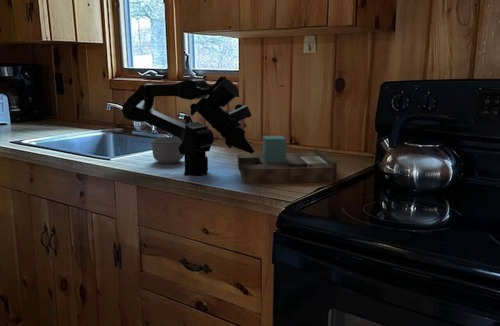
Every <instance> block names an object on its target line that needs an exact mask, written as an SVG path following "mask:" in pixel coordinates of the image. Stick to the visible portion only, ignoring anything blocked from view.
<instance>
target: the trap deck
mask: <svg viewBox="0 0 500 326" xmlns="http://www.w3.org/2000/svg"><path fill="white" fill-rule="evenodd" d="M313 150H314V152H289V153H287V152H286V162H285V163H265V161H264V160H263V153H252V154H251V153H237V169H238V171H239V174H240V176H241V179H242V182H243V184H244V185H245V184H247V185H248V184H251V185H252V184H285V183H286V184H287V183H289V184H290V183H291V184H292V183H293V184H294V183H324V182H325V183H326V182H327V183H328V182H337V169H338V162H337V161H336V160H335V159H333V158H332V157H331V156H329V155H328V154H326V153H325V152H323V151H322V150H321V149H320V148H318V147H315V148H314V149H313Z"/></svg>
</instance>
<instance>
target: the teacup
mask: <svg viewBox="0 0 500 326" xmlns="http://www.w3.org/2000/svg"><path fill="white" fill-rule="evenodd" d="M150 143H151V150H152V156H153V159H154V160H155V161H157V162H158V163H159V164H161V163H162V165H171V164H177V163H179V162H180V161H181V160H182V159H184V155H183V154H180V152H179V148H178V147H179V146H180V145H181V144H182V141H181V139H180V138H179V137H176V136H161V137H157V138H154V139H151V141H150Z"/></svg>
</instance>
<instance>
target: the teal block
mask: <svg viewBox="0 0 500 326" xmlns="http://www.w3.org/2000/svg"><path fill="white" fill-rule="evenodd" d="M286 153H287V138H286V137H284V136H283V135H262V154H263V160H264V161H265V163H285V162H286Z"/></svg>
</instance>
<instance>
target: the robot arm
mask: <svg viewBox="0 0 500 326" xmlns="http://www.w3.org/2000/svg"><path fill="white" fill-rule="evenodd" d="M239 92H240V91H239V88H238V87H237V85H236V84H235V83H234V82H233V81H231V80H229V79H227V77H226V76H220V77H219V78H217V80H216V81H215V82H214V84H208V82H207V81H206V80H205V79H202V78H201V79H200V78H199V79H195V78H194V79H186V80H182V81H180V82H177V83H176V82H175V83H161V84H160V83H158V84H157V83H156V84H154V83H143V84H141V85H139V87H138V88H137V90H135V92H134V93H133V94H131V95H130V96H129V97H128V98H127V99H126V101H125V102H124V103H123V105H122V107H121V108H122V109H121V112H122V114H123V118H124V119H125V120H128V121H133V122H140V123H147V124H149V125H151V126H152V127H154V128H157V129H160V130H162V131H163V132H165V133H168V134H170V135H172V136H173V137H179V138H180V139H181V141H182V144H181V145H180V146H179V147H178V148H179V152H180V154H183V155H184V157H183V159H184V174H183V175H185V176H195V175H196V176H200V175H201V176H204V175H205V176H206V175H207V172H208V171H209V163H208V162H209V157H208V155H207V152H210V151H211V148H212V145H213V143H214V141H215V139H214V133H213V131H212V129H214V130H216V131H217V133H218V134H220V135H221V136H220V137H222V139H224V144H225V145H226V146H227V147H228V148H229V149H230V148H232V147H233V148H236V149H239V150H241V151H244V152H246V153H247V154H254V153H255V150H254V148H253V147H252V146H251V144H250V143H249V141H248V140H247V138H246V137H245V135H246V130H245V129H244V127H241V126H242V123H240V121H243V120H245V119H246V118H250V117H252V112H251V110H250V108H249V106H248V105H247V104H244V105H242V104H240V103H237V104H236V105H234V109H232V111H230V112H228V110H226V109H223V108H225V107H226V106H227V105H229V103H230V102H232V101H233V100H234V99H235V98H236V97H237V96H238V95H239ZM155 97H177V98H180V99H184V100H189V101H193V100H194V101H195V100H198V101H197V102H196V103H192V104H191V105H190V106H189V108H190V116H194V115H195V114H196V113H197V114H199V116H201V117H202V118H203V119H204V120H205V121H206V122H207V123H208V124H209V125H210V127H211V128H212V129H210V128H209V126H208V125H204V124H202V123H200V122H198V121H195V122H190V123H183V122H181V121H179V120H177V119H175V118H173V117H171V116H168V115H166V114H163V113H162V112H159V111H157V110H155V109H154V108H153V107H154V106H153V105H154V102H155ZM206 155H207V156H206Z"/></svg>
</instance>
